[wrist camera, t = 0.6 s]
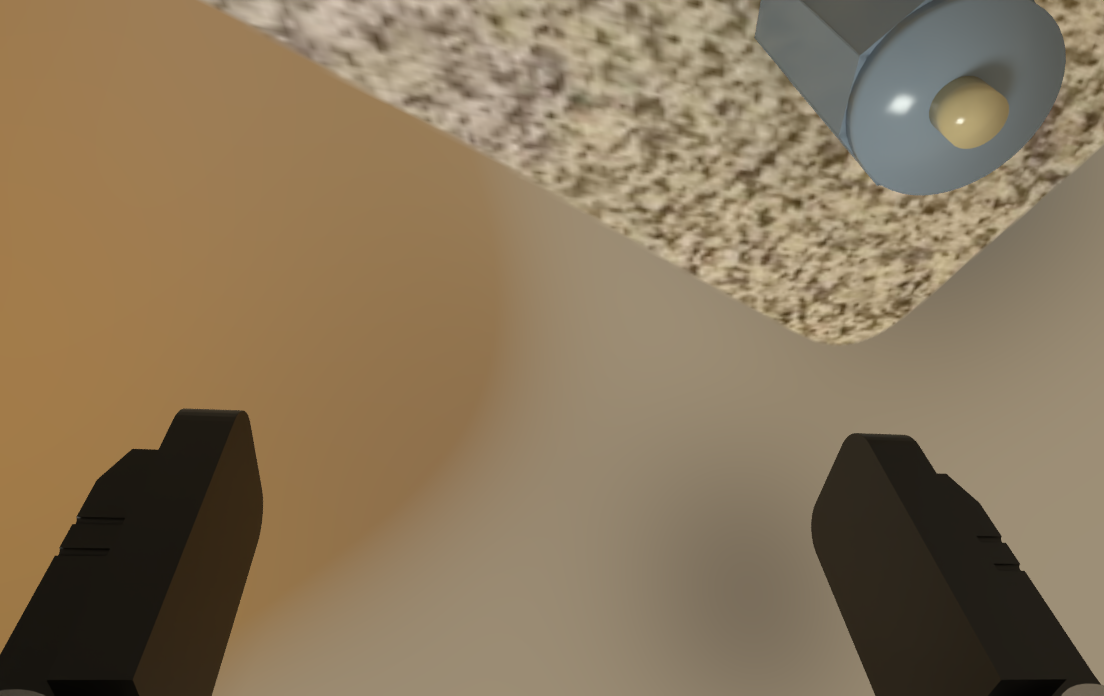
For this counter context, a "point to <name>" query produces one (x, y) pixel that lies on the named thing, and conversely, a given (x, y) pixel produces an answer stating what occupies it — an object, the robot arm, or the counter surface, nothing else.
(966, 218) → the counter surface
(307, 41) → the counter surface
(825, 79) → the octagonal knobbed canister
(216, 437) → the robot arm
